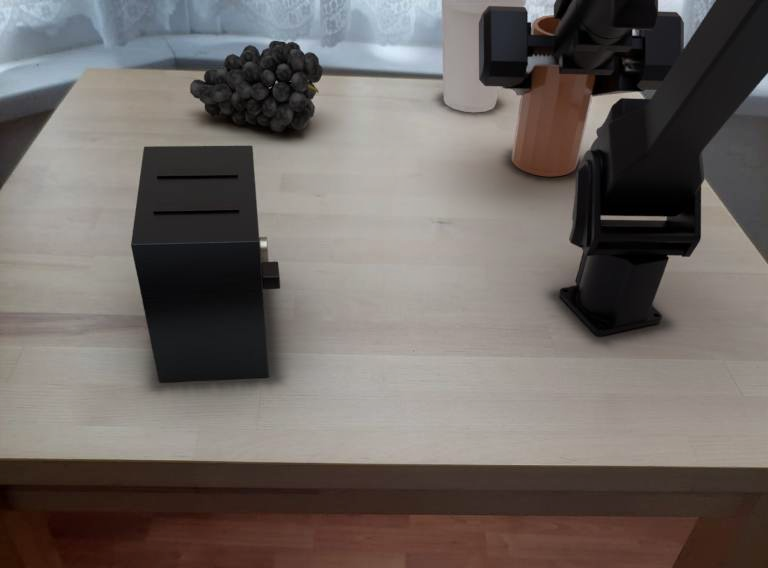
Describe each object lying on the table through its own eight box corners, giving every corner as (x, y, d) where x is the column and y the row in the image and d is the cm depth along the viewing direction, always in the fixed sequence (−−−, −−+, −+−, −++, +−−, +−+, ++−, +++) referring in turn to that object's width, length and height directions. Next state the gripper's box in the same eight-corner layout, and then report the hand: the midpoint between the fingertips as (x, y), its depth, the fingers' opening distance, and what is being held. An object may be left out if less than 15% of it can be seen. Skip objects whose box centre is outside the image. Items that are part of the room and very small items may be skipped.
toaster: (275, 274, 68) (268, 143, 59) (285, 376, 59) (278, 238, 50) (166, 277, 66) (143, 143, 58) (158, 382, 57) (130, 242, 49)
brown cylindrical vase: (589, 171, 84) (620, 35, 74) (532, 181, 82) (556, 42, 72) (555, 144, 88) (581, 11, 78) (500, 152, 86) (519, 18, 76)
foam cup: (426, 85, 97) (436, -39, 88) (498, 86, 99) (517, -36, 89) (438, 117, 91) (451, -12, 82) (515, 118, 92) (537, -10, 83)
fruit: (172, 28, 80) (314, 43, 78) (204, 32, 87) (334, 46, 86) (175, 122, 85) (310, 138, 83) (205, 119, 92) (330, 134, 90)
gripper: (718, -94, 66) (641, 12, 81) (498, -104, 64) (463, 6, 80) (716, 44, 66) (641, 123, 82) (499, 38, 65) (464, 120, 80)
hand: (553, 91), depth 81 cm, fingers closed on brown cylindrical vase, 7 cm apart
